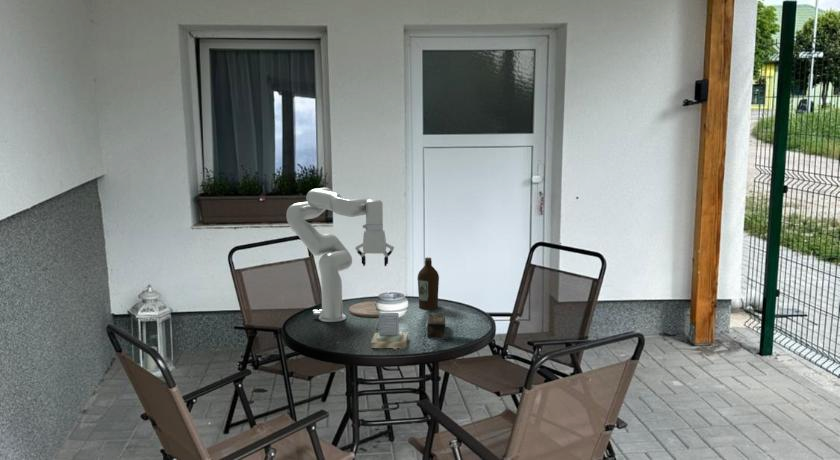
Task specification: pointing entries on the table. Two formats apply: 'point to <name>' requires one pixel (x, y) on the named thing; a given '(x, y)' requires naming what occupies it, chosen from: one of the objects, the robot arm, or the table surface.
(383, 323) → the medicine box
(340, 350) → the table surface
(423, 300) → the olive oil
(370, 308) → the trivet
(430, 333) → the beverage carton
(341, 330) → the table surface
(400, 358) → the table surface
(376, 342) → the plinth
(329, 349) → the table surface
